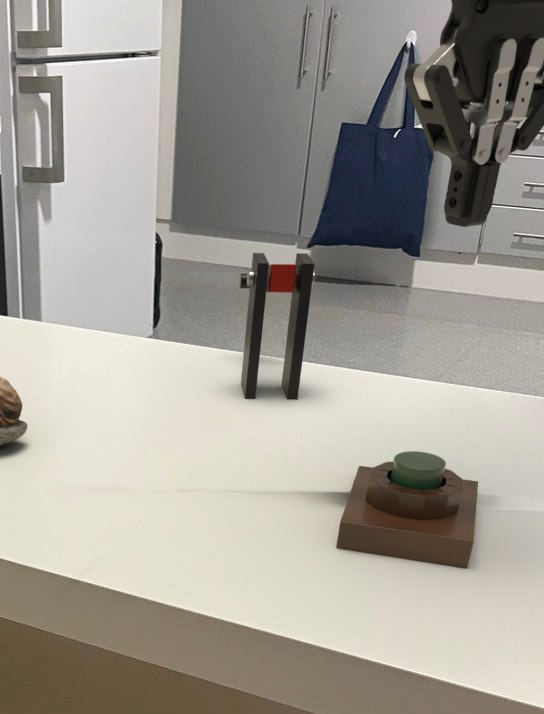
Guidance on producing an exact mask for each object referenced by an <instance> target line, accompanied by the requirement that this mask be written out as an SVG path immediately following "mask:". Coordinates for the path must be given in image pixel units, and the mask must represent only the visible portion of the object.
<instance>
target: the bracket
mask: <svg viewBox="0 0 544 714" xmlns="http://www.w3.org/2000/svg"><path fill="white" fill-rule="evenodd" d="M294 264H296V276H295V289H294V292H293V293H291V298H290V299H291V300H290V308H289V316H288V325H287V333H286V343H285V351H284V361H283V367H282V368H283V369H282V377H281V388H282V390H283V393H284V395H285V398H286V400H289V401H291V400H292V401H294V400H295V401H298V400H299V399H298V398H299V392H300V383H301V376H302V369H303V368H302V366H303V359H304V351H305V343H306V335H307V327H308V318H309V311H310V304H311V296H312V295H311V294H312V288H314V287H315V283H316V271H315V263H314V261H313V260H312V258H311V257H310V255H309V254H308V253H307V252H306V253H305V252H304V253H302V252H301V253H300V252H299V253H298V252H297V253H296V256H295V262H294ZM269 265H270V262H269V260H268V258H267V257H266V255H265V253H264V252H252V259H251V269H249V270H247V274H248V275H247V286H250V289H249V292H248V303H247V314H246V323H245V324H246V325H245V334H244V335H245V336H244V345H243V346H244V347H243V356H242V357H243V358H242V368H241V377H240V378H241V379H240V381H241V382H240V386H241V389H242V393H243V397H244V399H245V400H256V396H257V388H258V378H259V367H260V359H261V358H260V357H261V347H262V339H263V327H264V319H265V310H266V309H265V308H266V298H267V292H266V289H267V279H268V270H269Z"/></svg>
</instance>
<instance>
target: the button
mask: <svg viewBox="0 0 544 714" xmlns="http://www.w3.org/2000/svg"><path fill="white" fill-rule="evenodd" d="M392 462H393V467H392V473H391V478H390V481H391V482H392V483H395V484H397V485H400V486H403V487H405V488H412V489H419V490H427V489H438V488H440V487H441V485H442V480H443V475H444V471H445V469H446V466H447V464H446V460H445V459H444V458H442V457H441V456H439V455H437V454H434V453H430V452H426V451H425V452H424V451H417V450H415V451H414V450H412V451H411V450H409V451H403V452H400V453H397V454H396V455H395V456H394V457H393V461H392Z"/></svg>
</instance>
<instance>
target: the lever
mask: <svg viewBox="0 0 544 714" xmlns="http://www.w3.org/2000/svg"><path fill="white" fill-rule="evenodd" d="M247 275H248V273H240V276H239V289H245V290H246V289H249V290H250V286H247ZM295 276H296V264H295V263H291V264H290V263H285V264H284V263H271V264H269V270H268V279H267V289H266V294H269V293H270V294H271V293H276V294H278V293H280V294H290V293H291V294H292V293H293V292H294V289H295Z"/></svg>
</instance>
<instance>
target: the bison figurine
mask: <svg viewBox="0 0 544 714" xmlns="http://www.w3.org/2000/svg"><path fill="white" fill-rule="evenodd" d="M22 410H23V401H22V399H21V398H20V394H19V393H18V391H17V389H15V388H14V387H13V386H12V384H11V383H10V381H9V380H8V379H6V378H4V377H1V376H0V447H1V446H4V445H6V444H9V443H11V442H13V441H17V440H18V439H21V438H22V437H23V436H24V435H25V434H26V432H27V430H28V424H27V422H26V421H24V420H21V419H20V418H21V416H22Z"/></svg>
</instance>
